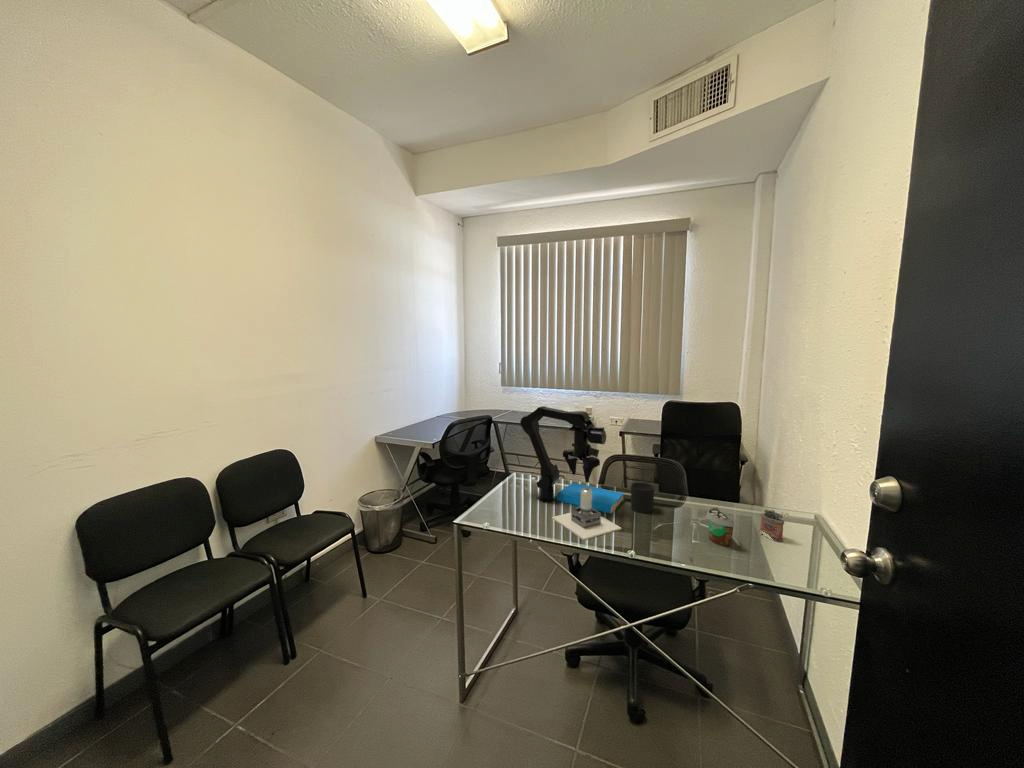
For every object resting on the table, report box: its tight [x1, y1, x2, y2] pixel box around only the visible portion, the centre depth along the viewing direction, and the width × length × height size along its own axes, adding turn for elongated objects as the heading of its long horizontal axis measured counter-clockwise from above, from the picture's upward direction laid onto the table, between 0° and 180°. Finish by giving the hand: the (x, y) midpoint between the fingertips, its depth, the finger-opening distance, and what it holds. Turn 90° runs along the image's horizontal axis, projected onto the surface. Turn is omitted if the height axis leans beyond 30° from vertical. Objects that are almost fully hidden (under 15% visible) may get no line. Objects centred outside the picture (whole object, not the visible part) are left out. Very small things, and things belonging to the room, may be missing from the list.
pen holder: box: [630, 482, 655, 514], centre depth 170 cm, size 9×9×10 cm
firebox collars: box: [570, 506, 602, 529], centre depth 156 cm, size 8×8×5 cm
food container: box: [705, 506, 735, 548], centre depth 143 cm, size 12×6×10 cm, turn 178°
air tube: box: [579, 488, 592, 522], centre depth 155 cm, size 5×5×13 cm
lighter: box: [759, 508, 785, 543], centre depth 145 cm, size 8×3×10 cm, turn 23°
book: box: [556, 482, 625, 515], centre depth 179 cm, size 17×4×25 cm
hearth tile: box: [551, 512, 622, 541], centre depth 156 cm, size 20×18×1 cm
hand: (580, 477), depth 170 cm, fingers open, 9 cm apart
